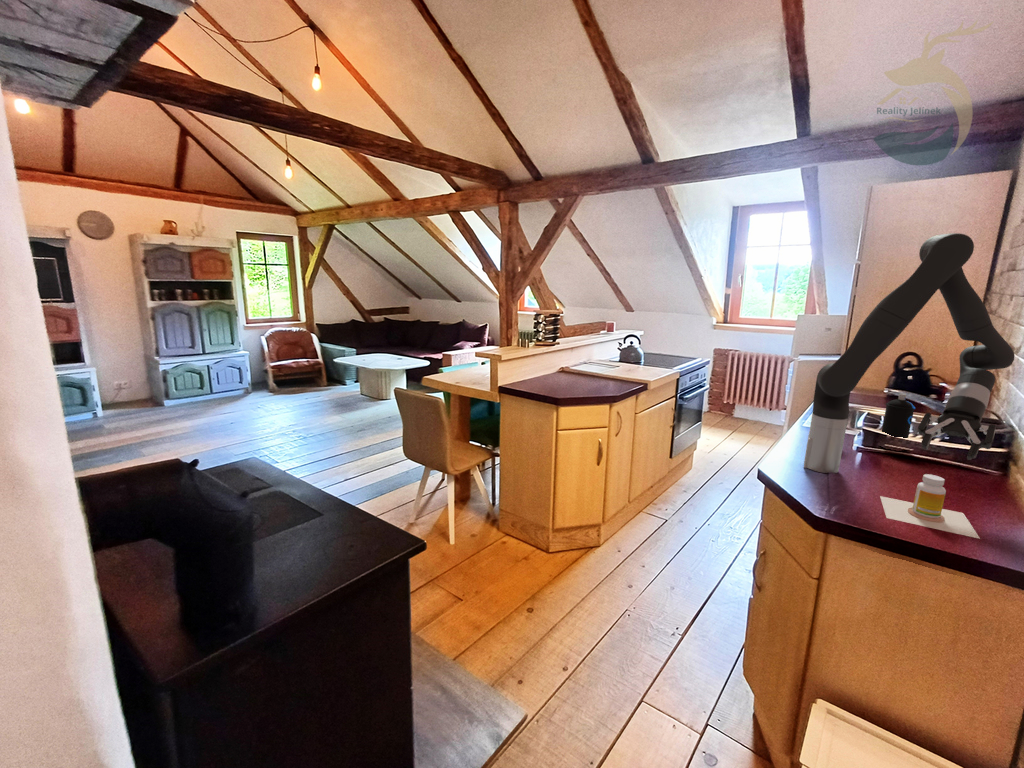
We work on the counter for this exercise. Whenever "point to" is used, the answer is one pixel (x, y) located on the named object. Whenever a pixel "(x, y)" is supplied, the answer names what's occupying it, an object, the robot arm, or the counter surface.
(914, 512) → the coaster
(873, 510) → the counter surface
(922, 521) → the mat
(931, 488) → the supplement bottle
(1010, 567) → the counter surface
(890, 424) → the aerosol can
